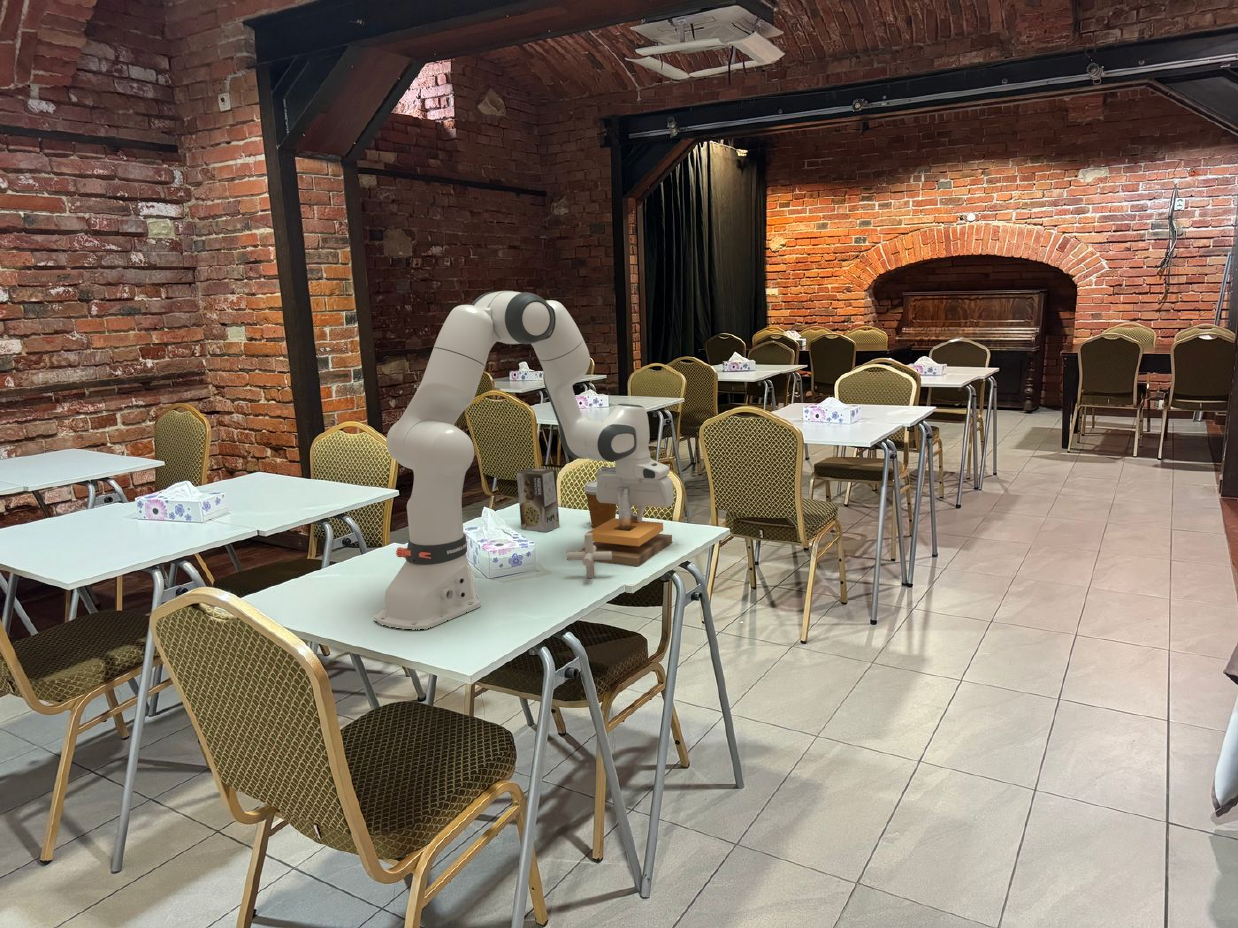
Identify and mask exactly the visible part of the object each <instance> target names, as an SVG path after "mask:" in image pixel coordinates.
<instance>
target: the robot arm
mask: <svg viewBox="0 0 1238 928" xmlns="http://www.w3.org/2000/svg"><path fill="white" fill-rule="evenodd" d="M497 342H498V343H503V344H506V345H519V344H523V345H531V346H532V347H533V349H534V352H535V354H536V357H537V359H538V361H539V364H540V366H541V368H542V370H543V376H542V377H543V383H544V387H545V391H546V394H547V397H548V399H549V402H550V404H551V407H552V411H553V414H554V416H555V419H556V422H557V424H558V429H559V434H560V435H559V436H560V442H561V446H562V448H563V450H564V452H565V454H567V455H568V456H569V457H571V458H573V459H581V460H582V459H583V460H584V459H585V460H591V461H598V462H604V463H613V462H614V466H606V465H602V466H601V467H599V468H598V469H597V470H596V480H597V490H596V498H597V500H598V501H599V502H600V503H611V504H617V505H618V492H617V488H618V487H622V486H627V487H630V507H631V522H637V523H640V522H642V521H643V514H644V512H645V510H646V509H647V508H648V507H651V508H661V509H662V508H664V509H667V508H669V507H671V506H672V504H674V502H675V498H674V497H675V495H674V493H675V492H674V485H673V481H672V479H671V478H670V476H668V475H669V474H670V469H671V468H670V467H669V465H667V464H663V463H661V462H659V461H656V460H654V459H652V458H651V452H650V449H649V444H650V438H651V437H650V436H651V435H650V424H649V423H650V422H649V416H648V412H647V410H646V407H644V406H642V405H641V404H640V405H639V404H632V403H631V404H630V403H617V404H616V405H614V409H613V411H612V412H610V414H609V415H608V416H607V417H605V418H603V419H602V420H597V419H591V418H588V417H587V416H585V415H584V414H583V413H582V411H581V409H580V406H579V403H578V401H577V397H576V395H575V391H574V388H573V386H574V385H575V384H576V383H577V382H579V381H580V380H581V379H582V378H583V377H585V376H586V374H587V372H588V370H589V367H590V365H591V356H590V351H589V349H588V346H587V344H586V342H585V340H584V337H583V336H582V333H581V332H580V329H579V327H578V326H577V324H576V322H575V321H574V319H573V317H572V316H571V314H570V313H569V311H568V310H567V309H566V307H565V306H564V305H563V304H562V303H561V302H559V301H557V300H552V299H550V300H545V299H544V298H543V297H541V296H539V294H538V295H537V294H535V293H532V292H526V291H524V292H519V291H514V290H501V291H489V292H488V291H487V292H485V293H484V294H481V295H479V296H478V297H477V298H476V299H474V300H473V301H472V303H471V304H461V305H457V306H455V307H454V308H453V309H452V310H450V313H449V314H448V315H447V317H446V319H445V321H444V323H443V325H442V327H441V329H440V331H439V332H438V336H437V338H436V340H435V343H434V346H433V349H432V351H431V354H430V356H429V360H428V362H427V365H426V369H425V371H424V373H423V377H422V378H421V379H422V380H421V381H420V384H419V386H418V388H417V390H416V392H415V394H414V396H413V397H412V399H411V400H410V402H409V403H408V405H407V407H406V409H405V410H404V412H403V414H402V415H401V417H400V418H399V420H397V421H396V422H394V424H393V425H392V426H391V427H390V429H389V430H388V432H387V434H386V440H385V441H386V447H387V450H388V452H389V454H390V456H391V457H393V459H394V460H395V461H396V462H397V463H398V464H399V465H401V466H403V467H405V468H406V469H410V470H412V473H413V485H412V491H411V495H410V498H409V499H408V501H407V504H406V511H407V512H406V513H407V522H408V524H407V525H408V533H409V539H408V541H407V542H408V543H407V547H405V548H404V547H400V546H398V547H397V548H396V551H395V555H396V557H397V558H404V559H405V562H404V564H403V565H402V566H401V568H400V570H399V571H398V573H397V574H396V575H395V577H394V578H393V580H392V581H391V582H390V583H389V585H388V586H387V588H386V590H385V595H384V608H382V609H381V610H380V611H379V612H377V613H376V614H375V615H373V620H374V619H375V620H376V621H377V622H378V623H380V624H383V625H386V626H390V627H389V628H391V627H398V628H403V629H402V630H404V629H412V630H411V631H419V630H420V629H424V630H428V628H429V629H431V628H433V627H435V626H438V625H440V624H443V623H445V622H448V621H450V620H453V619H455V618H457V617H459V616H460V617H461V616H462V615H465V614H466V612H467V613H469V612H471V611H474V610H476V609H478V608H480V607H481V606H482V605H481V601H480V600H479V599H478V596H477V594H476V593H477V592H476V588H475V582H474V577H473V573H472V568H471V566H470V563H469V561H468V558H467V553H468V541H467V536H466V534H465V532H464V523H463V522H464V521H463V506H462V498H463V497H462V496H463V488H464V482H465V476H466V473H467V471H468V469H470V467H471V465H472V463H473V460H474V457H475V448H474V447H475V446H474V444H473V443H474V442H473V441H472V439H471V438H470V436H469V435H468V434H467V433H466V432H464V431H463V430H462V429H460V428H459V427H457V426H455V424H456V423H457V421H458V419H459V418H460V416H461V415H462V413H463V412H464V411H465V410H466V409H467V408H468V407H469V406H470V405H471V404H472V403H473V401H474V400H475V398H476V394H477V391H478V388H479V385H480V383H481V379H482V376H483V373H484V370H485V368H486V364H487V361H488V358H489V354H490V351H491V350H492V348H493V346H495V344H496V343H497ZM633 506H636V507H637V508H636V510H638V512H637V513H634V511H633V509H632V508H633ZM447 620H448V621H447ZM378 623H377V624H378ZM380 624H379V625H380ZM383 625H382V626H383ZM386 626H385V627H386ZM430 627H431V628H430ZM415 629H416V630H415ZM417 629H418V630H417ZM420 631H421V630H420Z"/></svg>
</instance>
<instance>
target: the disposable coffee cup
mask: <svg viewBox="0 0 1238 928" xmlns="http://www.w3.org/2000/svg"><path fill="white" fill-rule="evenodd" d="M584 486H585V487H584V488H583V490H584V493H585V494H586V499H587V505H588V506H587V507H588V512H589V518H590V522H591V527H592V529H594V528H596V527H598V526H600V525H602V524H604V523H605V522H607V521H609V520H611V519H613V518H616V516H617V515H616V513H617V506H618V504H611V503H600V502H599V501H598V500H597V498H596V490H597V479H596V480H592V481H588V482H586V483H585V485H584Z"/></svg>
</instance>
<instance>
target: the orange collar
mask: <svg viewBox="0 0 1238 928" xmlns="http://www.w3.org/2000/svg"><path fill="white" fill-rule="evenodd" d="M631 529H632V530H631V531H623V530H619V518H616V517H615V518H613V519H611V520H609V521H607V522H605V523H604V524H602V525H600V526H598V527H596V528H592V529H591V530H589V531H588V532H586V533H592V535H593V542H602V543H612V544H621V545H630V546H640V545H642V544H643V543H645V542H646V541H648V540H650V539H651V538H653V537H654V536H656V535H657V534H661V532H664V522H659V521H646V520H642V522H640V523H637V522H631Z"/></svg>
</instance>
